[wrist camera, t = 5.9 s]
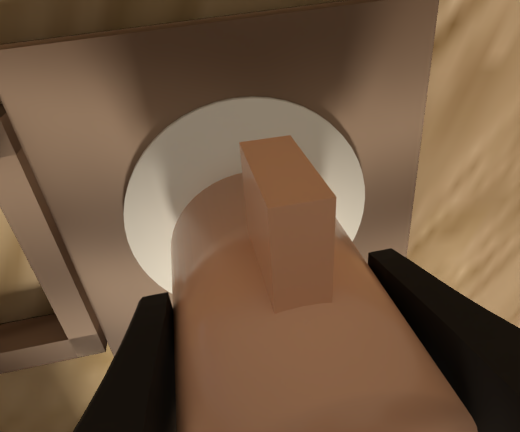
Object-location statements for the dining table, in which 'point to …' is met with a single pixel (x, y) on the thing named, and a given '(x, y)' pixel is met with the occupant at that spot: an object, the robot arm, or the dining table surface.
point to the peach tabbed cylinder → (291, 314)
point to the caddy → (195, 145)
